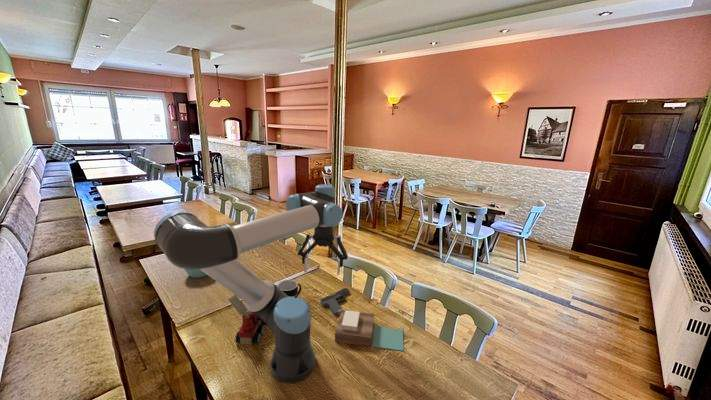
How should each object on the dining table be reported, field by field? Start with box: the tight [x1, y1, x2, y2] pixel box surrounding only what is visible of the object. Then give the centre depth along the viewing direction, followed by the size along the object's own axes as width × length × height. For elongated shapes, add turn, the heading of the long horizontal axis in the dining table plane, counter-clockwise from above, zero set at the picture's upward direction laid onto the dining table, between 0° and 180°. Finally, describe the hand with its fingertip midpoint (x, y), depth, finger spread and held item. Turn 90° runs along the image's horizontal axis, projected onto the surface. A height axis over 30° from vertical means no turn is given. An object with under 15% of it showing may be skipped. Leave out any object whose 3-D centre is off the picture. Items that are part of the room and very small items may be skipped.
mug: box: [277, 279, 302, 298], centre depth 132 cm, size 12×9×10 cm
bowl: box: [184, 269, 208, 279], centre depth 153 cm, size 16×16×8 cm
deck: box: [334, 309, 375, 348], centre depth 116 cm, size 14×14×4 cm
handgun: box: [319, 287, 351, 317], centre depth 135 cm, size 3×18×12 cm
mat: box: [371, 324, 405, 352], centre depth 114 cm, size 12×12×1 cm
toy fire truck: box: [227, 294, 268, 345], centre depth 112 cm, size 11×16×18 cm
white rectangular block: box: [341, 310, 360, 331], centre depth 116 cm, size 9×6×2 cm, turn 172°
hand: (322, 272), depth 119 cm, fingers open, 13 cm apart
